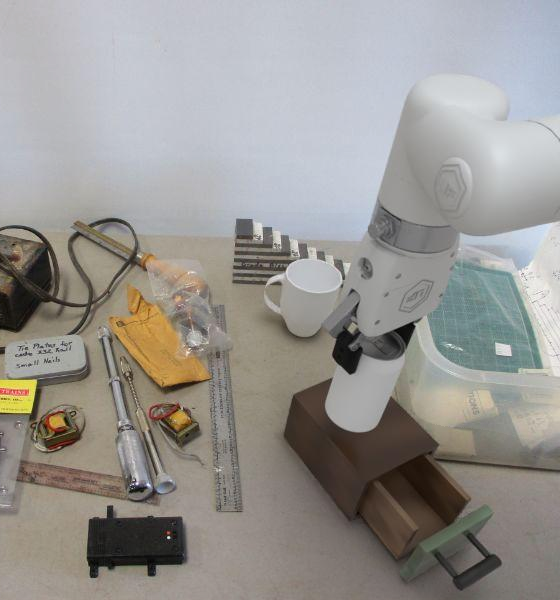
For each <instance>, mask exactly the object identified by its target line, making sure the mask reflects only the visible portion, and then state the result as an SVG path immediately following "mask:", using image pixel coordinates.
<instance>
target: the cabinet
mask: <svg viewBox="0 0 560 600" xmlns="http://www.w3.org/2000/svg"><path fill="white" fill-rule="evenodd" d="M333 377H334V376H332V377H330V378H328V379H325V380H323V381H321V382H318V383H316V384H314V385H311V386H309V387H307V388H305V389H303V390H300V391H298V392H295V393H293V394H292V396H291V401H290V404H289V408H288V409H289V410H288V412H287V413H288V414H287V418H286V422H285V425H284V426H285V427H284V429H283V435H282V436H283V438H284V439H285V441H286V442H287V443H288V445H290V447H291V449H292V450H293V451H294V452H295V454H296V455H297V456H298V457H299V458H300V460H301V462H303V464H304V465H305V467H306V468H307V469H308V470H309V472H310V473H311V474H312V475H313V477H314V478H315V479H316V480H317V482H318V483H319V484H320V485H321V487H322V488H323V489H324V492H326V493H327V495H328V496H329V497H330V499H331V500H332V501H333V502H334V504H335V505H336V507H337V508H338V509H339V510H340V511H341V513H342V514H343V515H344V517H345V518H346V519H347V520H348V522H352V521H354V520H355V519H357V518H359V517H362V515H361V514H360V513H359V512H358V509H359V507H360V505H361V503H362V500H363V498H364V496H365V494H366V492H367V489H368V487H369V485H370V483H371V482H373V481H375V480H377V479H379V478H381V477H383V476H385V475H387V474H389V473H390V472H392V471H394V470H396V469H398V468H400V467H402V466H404V465H406V464H408V463H410V462H412V461H413V460H415V459H417V458H419V457H421V456H423V455H425V454H427V453H429V454H430V455H431V456H432V457H433V458H434V455H435V454H436V451H437V450H438V448H439V446H440V444H439V442H438V441H437V440H436V439H435V438H434V437H433V436H432V435H430V433H429V432H428V431H427V430H426V429H425V428H424V427H423V426H422V425H421V424H420V423H418V421H417V420H416V419H415V418H414V417H413V416H412V415H411V414H410V413H409V412H408V411H407V410H406V409H405V408H404V407H403V406H401V404H400V403H399V402H398V401H397V400H396V399H395V398H394V397H393V396H392V395H391V396H390V398H389V401H388V403H387V405H386V407H385V410H384V412H383V414H382V416H381V419H380V421H379V423H378V424H377V426H376V427H375V428H373V429H372V430H370V431H367V432H350V431H347V430H344V429H342V428H340V427H339V426H337V425H336V424H335V423H334V422H333V421H332V420H331V419H330V418H329V416H328V414H327V412H326V409H325V402H326V398H327V395H328V392H329V389H330V386H331V383H332V380H333Z"/></svg>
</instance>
